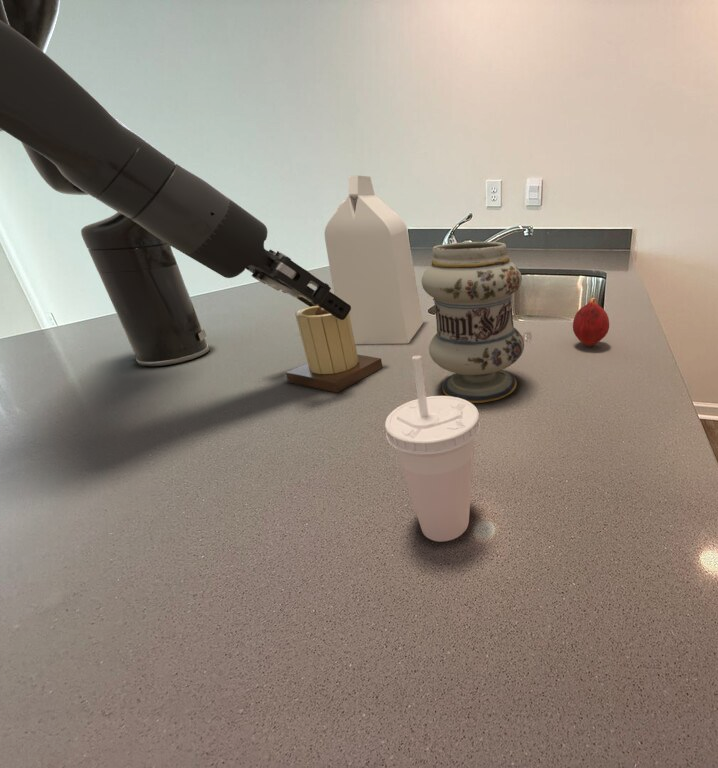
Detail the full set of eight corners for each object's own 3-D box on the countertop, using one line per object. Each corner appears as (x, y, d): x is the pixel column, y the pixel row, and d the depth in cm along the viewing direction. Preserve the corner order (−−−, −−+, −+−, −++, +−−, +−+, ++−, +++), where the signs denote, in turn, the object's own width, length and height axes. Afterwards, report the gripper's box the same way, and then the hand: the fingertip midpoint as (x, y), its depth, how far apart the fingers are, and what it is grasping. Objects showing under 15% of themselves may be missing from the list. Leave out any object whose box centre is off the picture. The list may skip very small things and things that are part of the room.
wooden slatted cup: (299, 370, 56) (284, 314, 53) (334, 354, 62) (322, 302, 58) (334, 377, 54) (320, 318, 51) (367, 360, 59) (357, 306, 56)
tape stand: (288, 382, 56) (268, 312, 52) (337, 359, 64) (323, 296, 60) (337, 392, 53) (320, 318, 49) (382, 367, 61) (371, 301, 56)
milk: (408, 343, 70) (385, 174, 59) (342, 344, 70) (306, 175, 59) (423, 322, 81) (405, 176, 70) (365, 323, 81) (339, 178, 70)
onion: (607, 353, 64) (611, 303, 60) (570, 351, 65) (572, 302, 61) (607, 341, 69) (611, 294, 66) (573, 339, 70) (575, 293, 67)
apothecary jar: (474, 362, 62) (465, 237, 54) (541, 380, 55) (543, 241, 48) (414, 392, 53) (394, 247, 45) (486, 417, 46) (477, 254, 39)
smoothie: (409, 498, 34) (384, 342, 28) (485, 492, 35) (475, 338, 29) (396, 559, 29) (361, 380, 23) (487, 552, 29) (476, 374, 23)
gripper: (245, 195, 39) (373, 293, 51) (207, 195, 48) (324, 278, 60) (199, 259, 38) (341, 343, 50) (169, 247, 47) (296, 321, 59)
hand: (332, 308), depth 55 cm, fingers open, 8 cm apart
